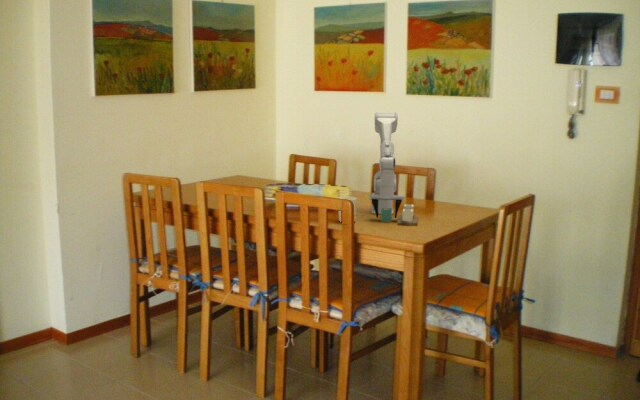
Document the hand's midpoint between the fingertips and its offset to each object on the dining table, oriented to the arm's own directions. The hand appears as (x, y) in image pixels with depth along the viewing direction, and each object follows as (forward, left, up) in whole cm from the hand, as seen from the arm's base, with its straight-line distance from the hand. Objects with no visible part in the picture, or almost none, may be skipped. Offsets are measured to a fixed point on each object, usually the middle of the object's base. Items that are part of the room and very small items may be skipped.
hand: (386, 217), depth 289 cm
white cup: (-16, -5, -2) cm, 17 cm away
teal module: (0, 0, -2) cm, 2 cm away
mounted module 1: (+9, +6, 0) cm, 11 cm away
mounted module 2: (+9, -5, 0) cm, 11 cm away
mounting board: (+9, 0, -1) cm, 9 cm away
